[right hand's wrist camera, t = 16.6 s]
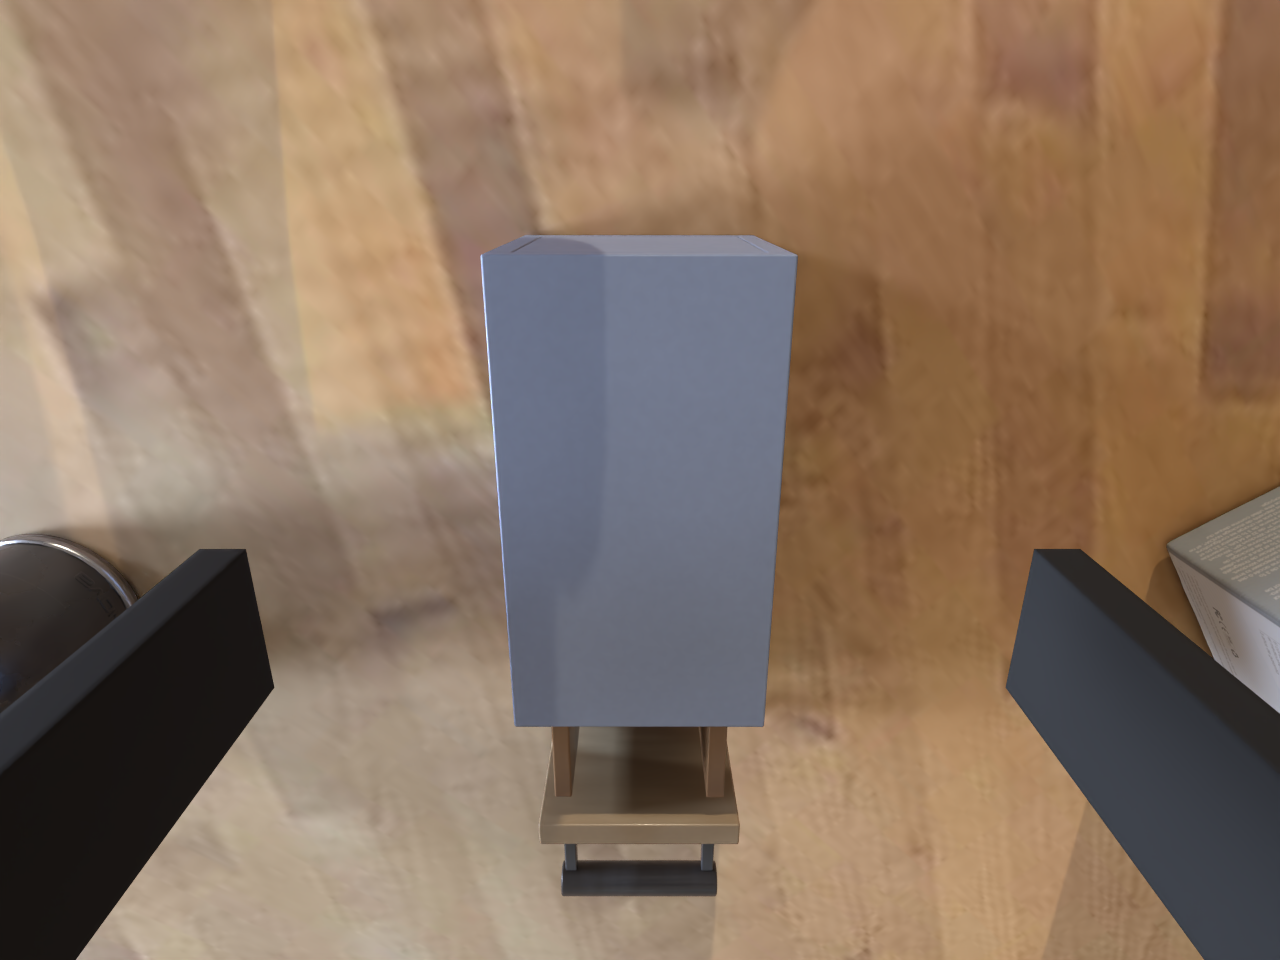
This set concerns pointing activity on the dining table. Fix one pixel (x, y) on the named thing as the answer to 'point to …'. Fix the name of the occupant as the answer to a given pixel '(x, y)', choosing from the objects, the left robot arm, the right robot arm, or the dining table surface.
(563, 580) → the cabinet
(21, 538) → the left robot arm
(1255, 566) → the hard drive box
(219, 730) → the right robot arm
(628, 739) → the drawer
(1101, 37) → the dining table surface
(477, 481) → the dining table surface
